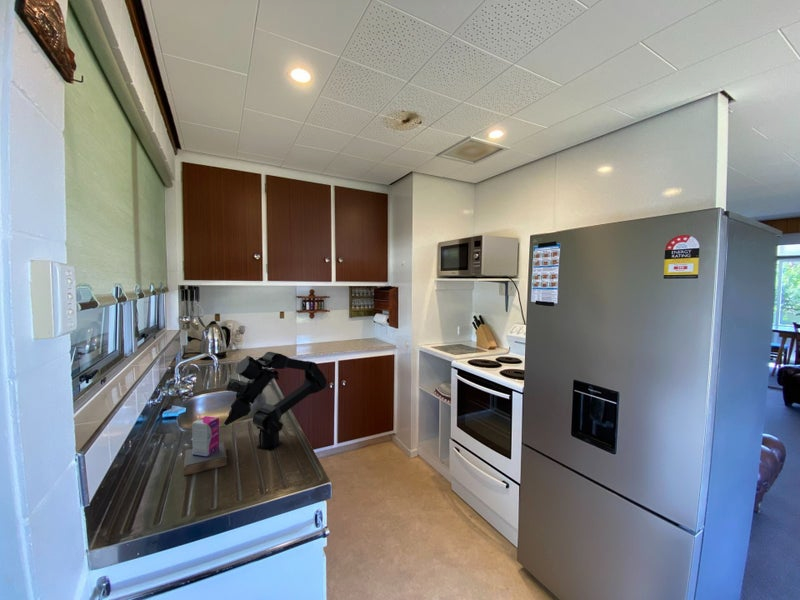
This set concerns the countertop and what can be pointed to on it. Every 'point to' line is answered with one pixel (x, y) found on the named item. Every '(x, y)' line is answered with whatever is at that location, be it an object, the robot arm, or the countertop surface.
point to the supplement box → (205, 436)
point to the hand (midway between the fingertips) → (227, 419)
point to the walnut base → (204, 460)
